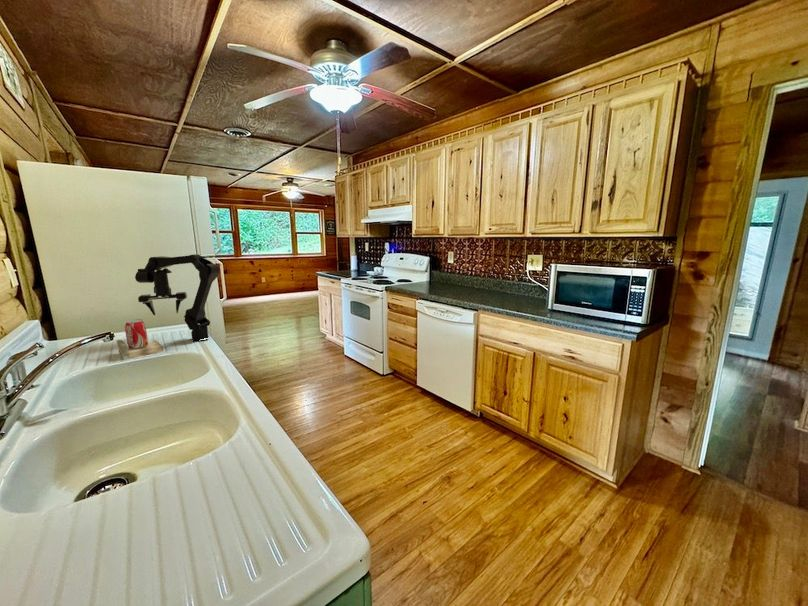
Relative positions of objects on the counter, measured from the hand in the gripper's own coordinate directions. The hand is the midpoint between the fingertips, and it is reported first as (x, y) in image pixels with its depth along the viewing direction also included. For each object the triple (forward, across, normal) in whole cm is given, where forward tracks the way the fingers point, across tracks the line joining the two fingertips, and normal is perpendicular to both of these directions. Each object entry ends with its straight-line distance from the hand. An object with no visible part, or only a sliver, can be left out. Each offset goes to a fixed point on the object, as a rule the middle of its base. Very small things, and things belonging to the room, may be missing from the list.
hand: (166, 314), depth 161 cm
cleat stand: (+13, +8, +16) cm, 22 cm away
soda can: (+11, +9, +17) cm, 22 cm away
